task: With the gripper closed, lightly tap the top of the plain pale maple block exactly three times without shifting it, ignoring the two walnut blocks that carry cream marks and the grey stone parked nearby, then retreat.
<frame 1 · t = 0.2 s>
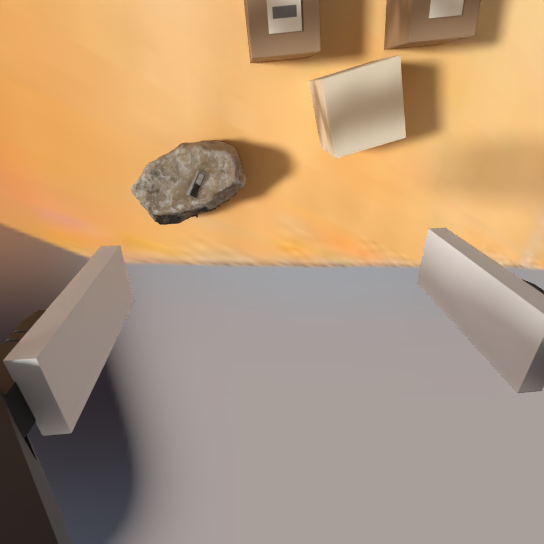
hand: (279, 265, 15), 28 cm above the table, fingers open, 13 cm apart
plain block: (345, 106, 38), on the table
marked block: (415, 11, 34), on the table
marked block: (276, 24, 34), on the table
stone: (194, 178, 40), on the table
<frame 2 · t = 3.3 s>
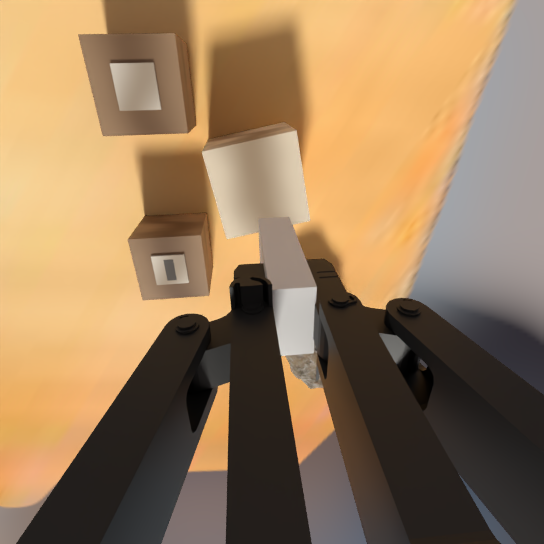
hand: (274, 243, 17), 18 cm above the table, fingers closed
plain block: (254, 169, 32), on the table
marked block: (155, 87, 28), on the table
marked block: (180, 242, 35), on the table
stone: (310, 317, 41), on the table
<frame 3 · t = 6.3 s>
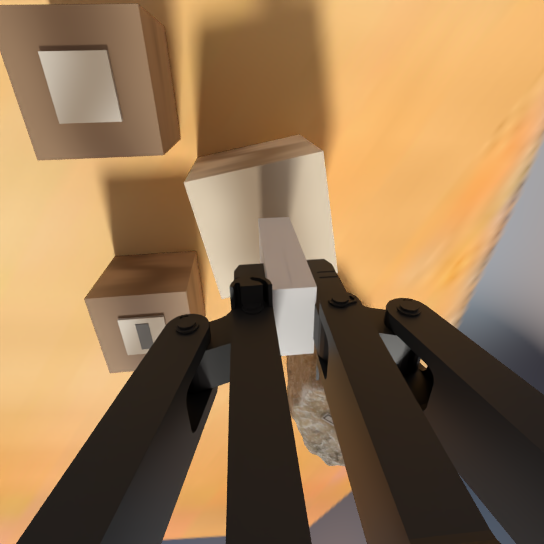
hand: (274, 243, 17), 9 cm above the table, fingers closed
plain block: (259, 196, 24), on the table
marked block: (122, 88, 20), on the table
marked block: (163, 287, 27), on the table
stone: (327, 371, 34), on the table
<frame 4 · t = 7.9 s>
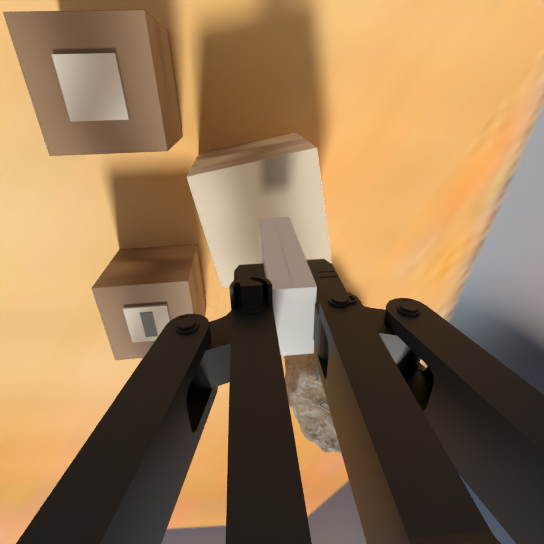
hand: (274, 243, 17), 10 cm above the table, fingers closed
plain block: (257, 191, 26), on the table
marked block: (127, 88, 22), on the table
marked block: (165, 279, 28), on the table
stone: (323, 362, 35), on the table
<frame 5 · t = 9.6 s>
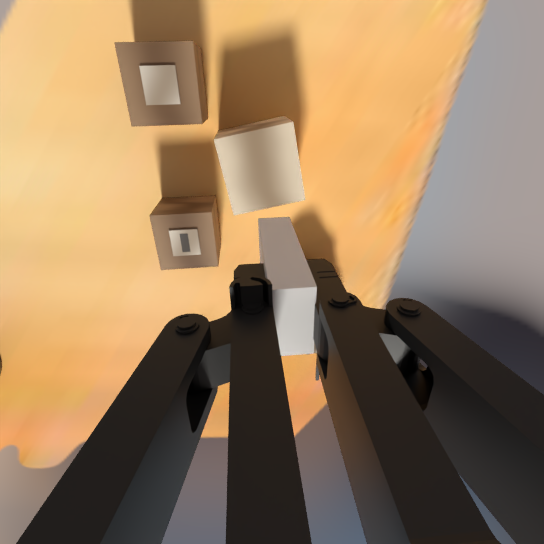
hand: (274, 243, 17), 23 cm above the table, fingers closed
plain block: (258, 157, 37), on the table
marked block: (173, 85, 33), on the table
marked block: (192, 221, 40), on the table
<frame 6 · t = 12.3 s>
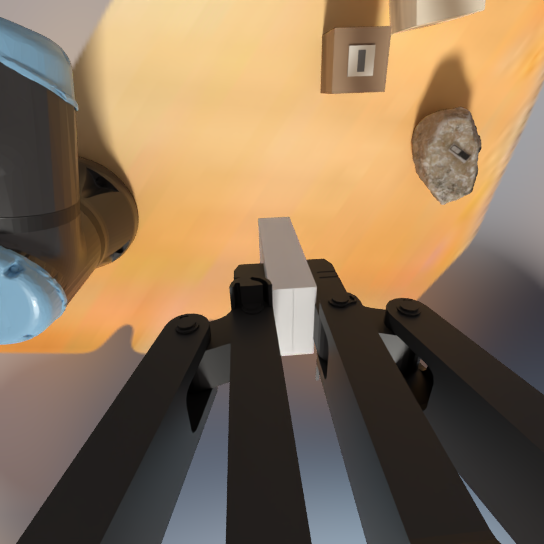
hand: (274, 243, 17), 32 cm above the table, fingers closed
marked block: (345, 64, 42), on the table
stone: (435, 153, 48), on the table
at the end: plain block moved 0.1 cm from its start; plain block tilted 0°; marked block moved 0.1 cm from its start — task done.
